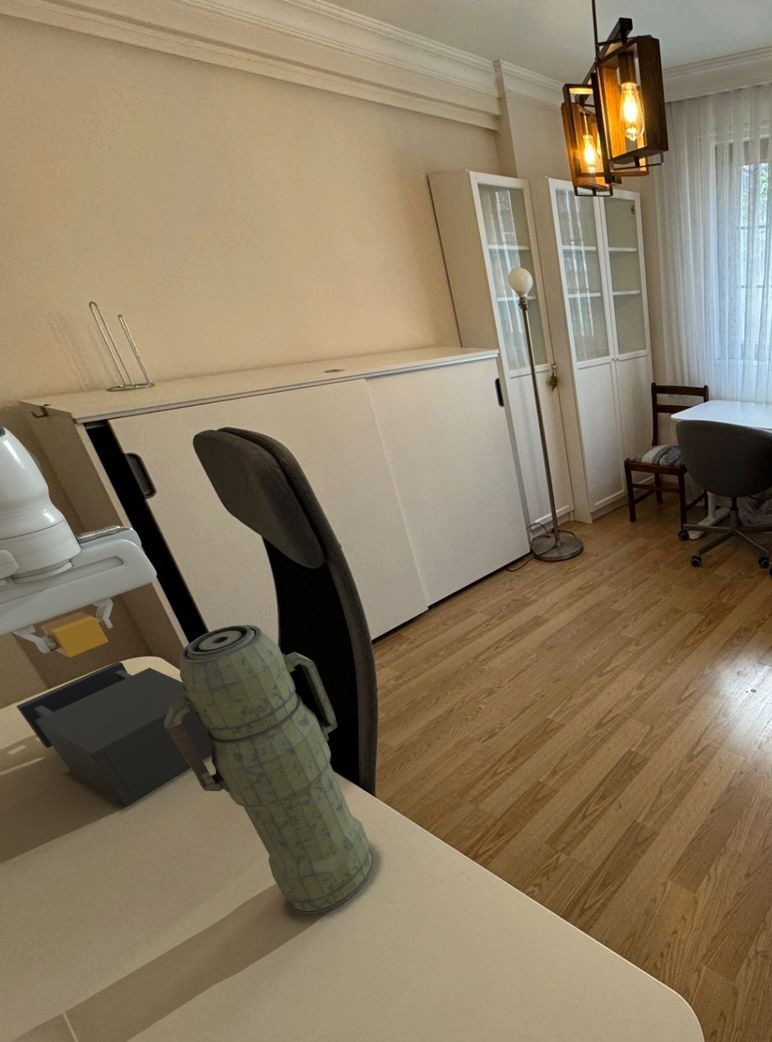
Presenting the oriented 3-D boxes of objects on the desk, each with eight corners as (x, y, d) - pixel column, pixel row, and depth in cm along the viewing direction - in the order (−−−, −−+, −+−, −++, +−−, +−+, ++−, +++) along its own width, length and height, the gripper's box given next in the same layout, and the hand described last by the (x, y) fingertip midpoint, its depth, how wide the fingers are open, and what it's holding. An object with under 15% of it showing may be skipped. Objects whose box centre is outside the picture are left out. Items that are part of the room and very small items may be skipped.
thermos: (259, 902, 65) (118, 658, 50) (362, 825, 74) (268, 599, 59) (296, 944, 60) (153, 691, 46) (400, 857, 69) (310, 622, 55)
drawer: (31, 737, 88) (3, 698, 84) (126, 692, 98) (105, 655, 94) (90, 775, 81) (62, 733, 77) (187, 721, 91) (166, 683, 87)
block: (55, 650, 76) (40, 625, 74) (94, 635, 79) (81, 611, 77) (69, 657, 74) (54, 632, 73) (108, 641, 78) (95, 617, 76)
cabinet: (70, 771, 83) (34, 720, 79) (176, 715, 94) (149, 667, 89) (126, 807, 77) (90, 753, 73) (231, 742, 88) (206, 692, 83)
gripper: (119, 517, 80) (159, 599, 86) (-115, 578, 63) (-46, 676, 69) (142, 523, 78) (182, 608, 84) (-95, 590, 61) (-24, 689, 67)
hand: (77, 639), depth 76 cm, fingers closed on block, 4 cm apart
